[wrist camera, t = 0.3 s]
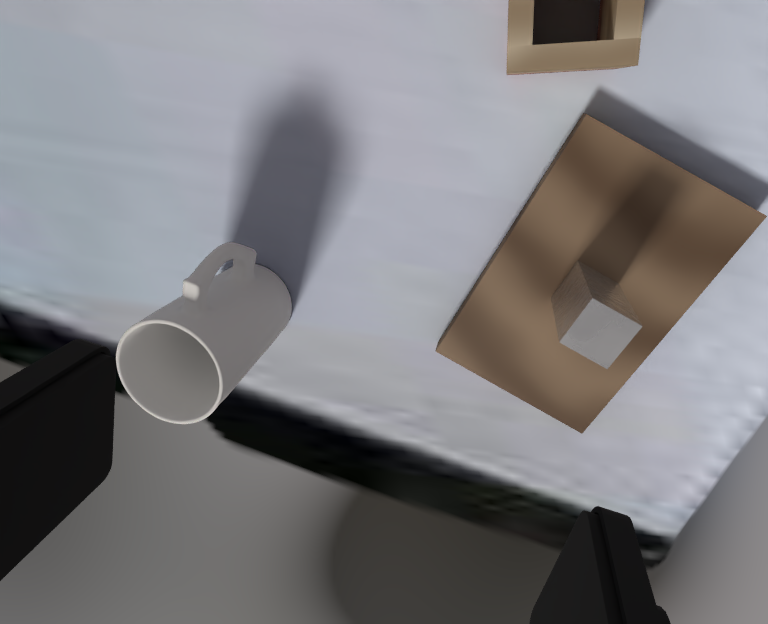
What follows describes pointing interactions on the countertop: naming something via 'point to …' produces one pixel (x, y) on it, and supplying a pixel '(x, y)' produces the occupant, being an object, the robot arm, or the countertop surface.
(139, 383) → the mug
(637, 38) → the sleeve
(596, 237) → the pin board
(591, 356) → the steel pin
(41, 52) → the countertop surface
